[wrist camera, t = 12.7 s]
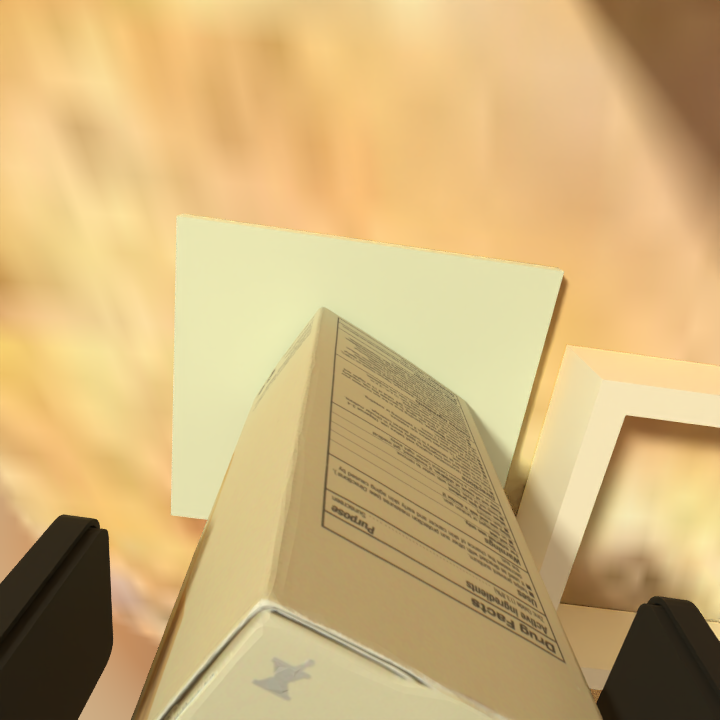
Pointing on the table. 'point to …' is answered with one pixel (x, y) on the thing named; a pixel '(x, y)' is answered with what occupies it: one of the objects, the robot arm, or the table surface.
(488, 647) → the skincare box
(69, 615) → the robot arm
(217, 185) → the table surface
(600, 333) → the table surface
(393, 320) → the mat
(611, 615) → the collar
